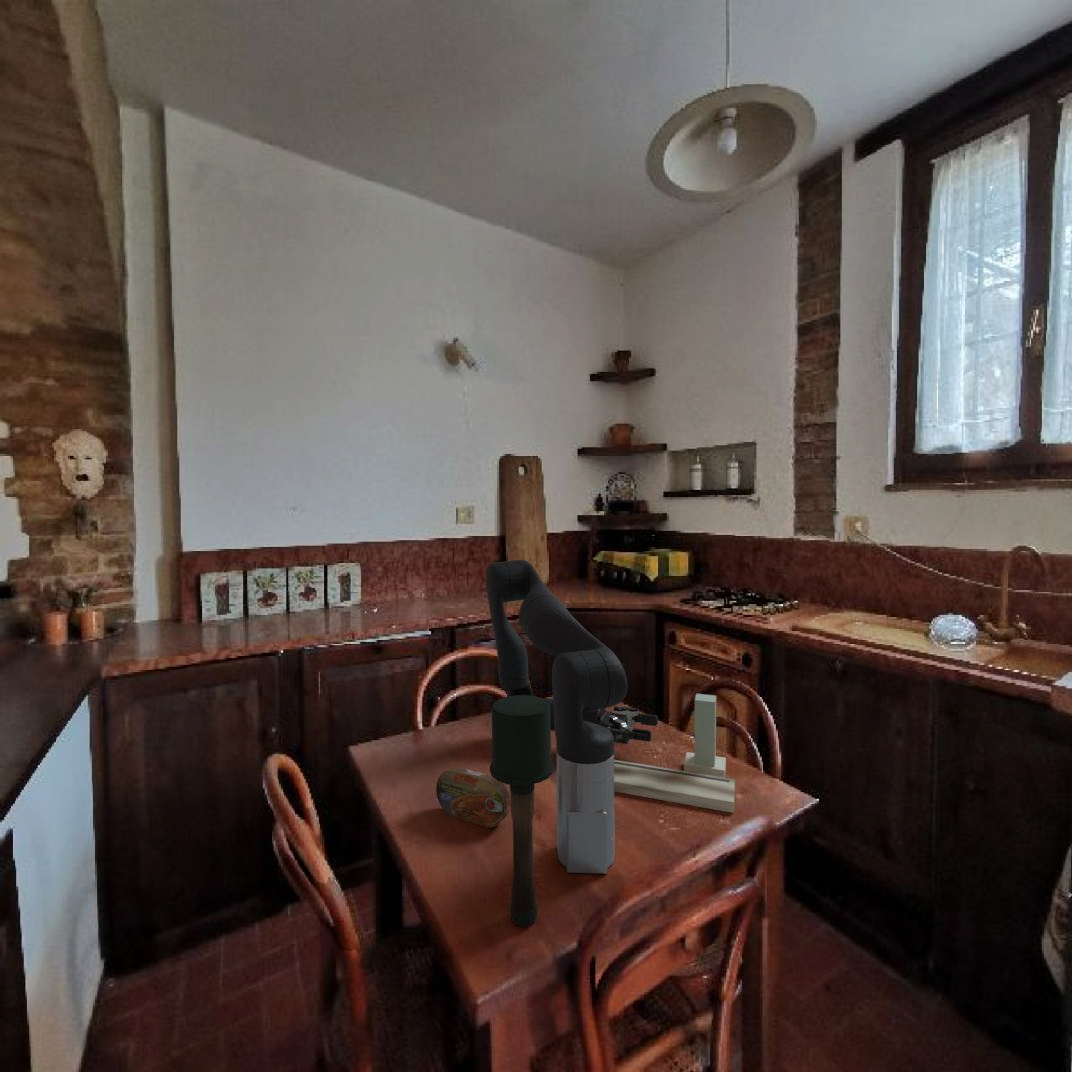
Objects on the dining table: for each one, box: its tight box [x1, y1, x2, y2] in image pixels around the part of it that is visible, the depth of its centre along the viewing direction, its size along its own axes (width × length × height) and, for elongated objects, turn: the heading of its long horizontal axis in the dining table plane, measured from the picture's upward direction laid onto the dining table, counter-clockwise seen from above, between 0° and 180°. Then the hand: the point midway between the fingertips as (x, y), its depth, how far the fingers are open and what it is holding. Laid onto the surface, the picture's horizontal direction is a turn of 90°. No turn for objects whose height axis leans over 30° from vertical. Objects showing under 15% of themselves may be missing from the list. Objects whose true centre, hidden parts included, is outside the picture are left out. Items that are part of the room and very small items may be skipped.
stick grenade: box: [489, 695, 555, 928], centre depth 74 cm, size 8×9×30 cm
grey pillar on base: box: [683, 693, 727, 778], centre depth 114 cm, size 6×8×16 cm
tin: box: [435, 766, 511, 829], centre depth 99 cm, size 15×3×8 cm, turn 61°
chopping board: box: [614, 759, 736, 814], centre depth 108 cm, size 9×26×2 cm, turn 69°
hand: (654, 728), depth 118 cm, fingers open, 8 cm apart
